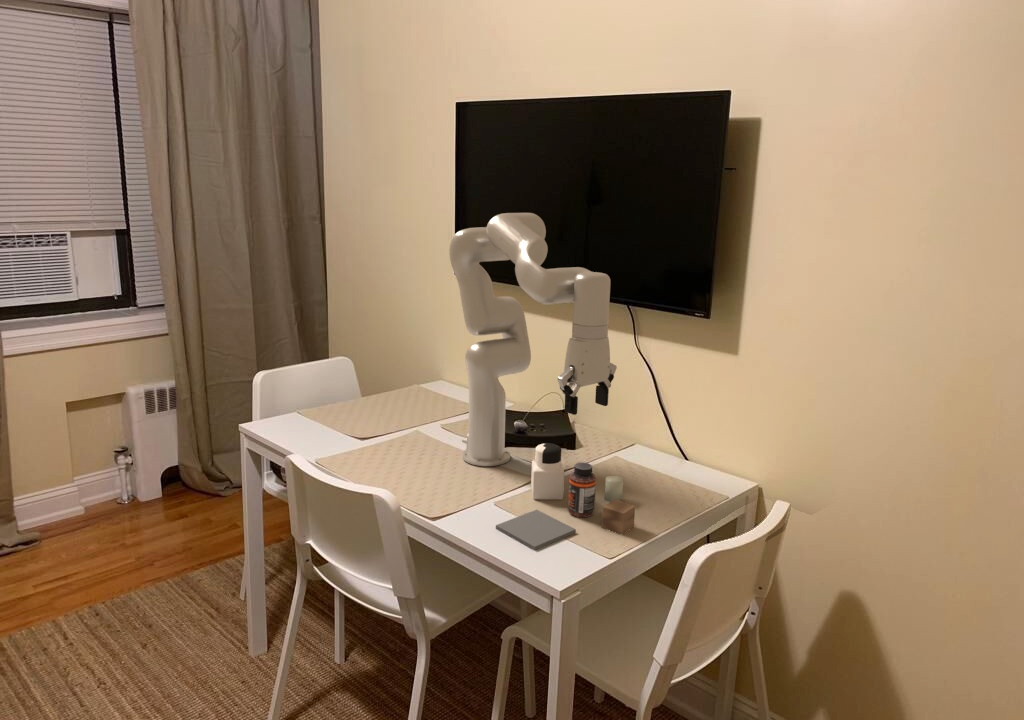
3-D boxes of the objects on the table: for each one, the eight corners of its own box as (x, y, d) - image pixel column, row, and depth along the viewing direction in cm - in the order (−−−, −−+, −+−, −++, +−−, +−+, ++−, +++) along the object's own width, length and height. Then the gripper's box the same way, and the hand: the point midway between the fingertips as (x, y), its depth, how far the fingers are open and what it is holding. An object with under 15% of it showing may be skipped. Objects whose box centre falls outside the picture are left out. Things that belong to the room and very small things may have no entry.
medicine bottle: (560, 487, 182) (562, 440, 179) (563, 500, 175) (565, 451, 172) (530, 487, 182) (532, 440, 179) (532, 499, 175) (534, 451, 172)
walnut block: (601, 528, 163) (603, 506, 161) (613, 520, 166) (615, 499, 165) (622, 535, 160) (623, 513, 158) (633, 527, 163) (635, 505, 162)
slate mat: (495, 528, 161) (495, 525, 161) (536, 512, 169) (536, 509, 168) (534, 550, 152) (534, 546, 152) (575, 532, 160) (575, 529, 160)
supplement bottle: (563, 508, 171) (565, 461, 168) (586, 505, 173) (589, 458, 170) (574, 520, 166) (576, 472, 163) (598, 516, 168) (601, 468, 165)
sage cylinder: (601, 498, 177) (602, 478, 175) (612, 494, 179) (613, 474, 178) (614, 504, 174) (615, 484, 173) (625, 499, 176) (626, 480, 175)
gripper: (603, 323, 167) (600, 397, 172) (548, 333, 156) (545, 412, 160) (630, 329, 162) (625, 405, 166) (574, 339, 151) (571, 421, 155)
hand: (586, 408), depth 163 cm, fingers open, 9 cm apart
